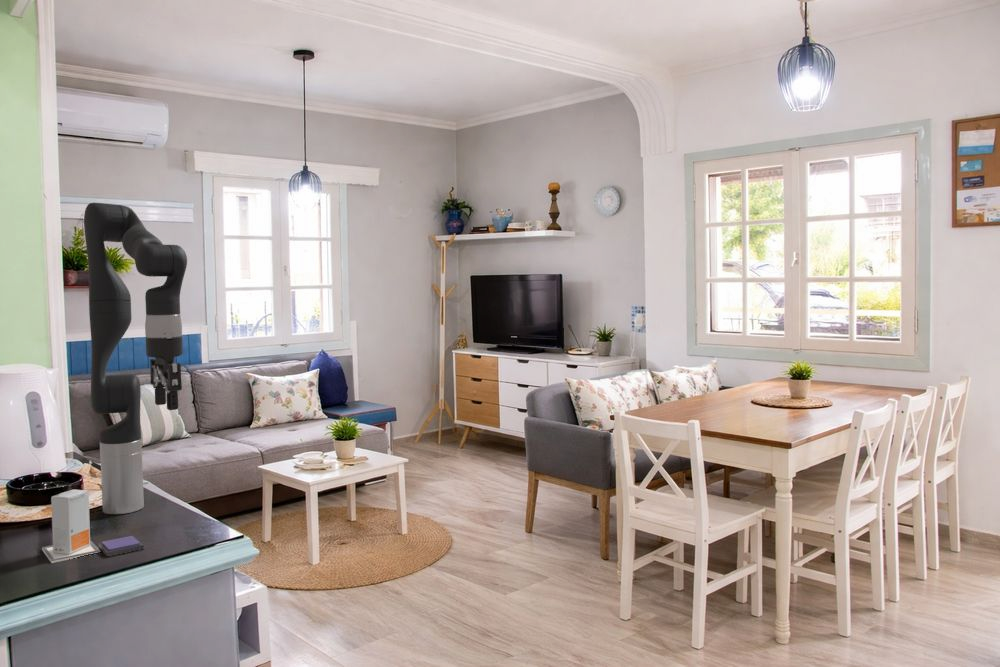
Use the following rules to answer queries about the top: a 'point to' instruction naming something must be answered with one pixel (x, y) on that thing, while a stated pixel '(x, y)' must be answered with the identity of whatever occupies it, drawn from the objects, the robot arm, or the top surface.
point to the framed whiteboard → (62, 557)
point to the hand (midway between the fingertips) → (166, 407)
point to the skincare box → (70, 521)
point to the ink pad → (120, 545)
